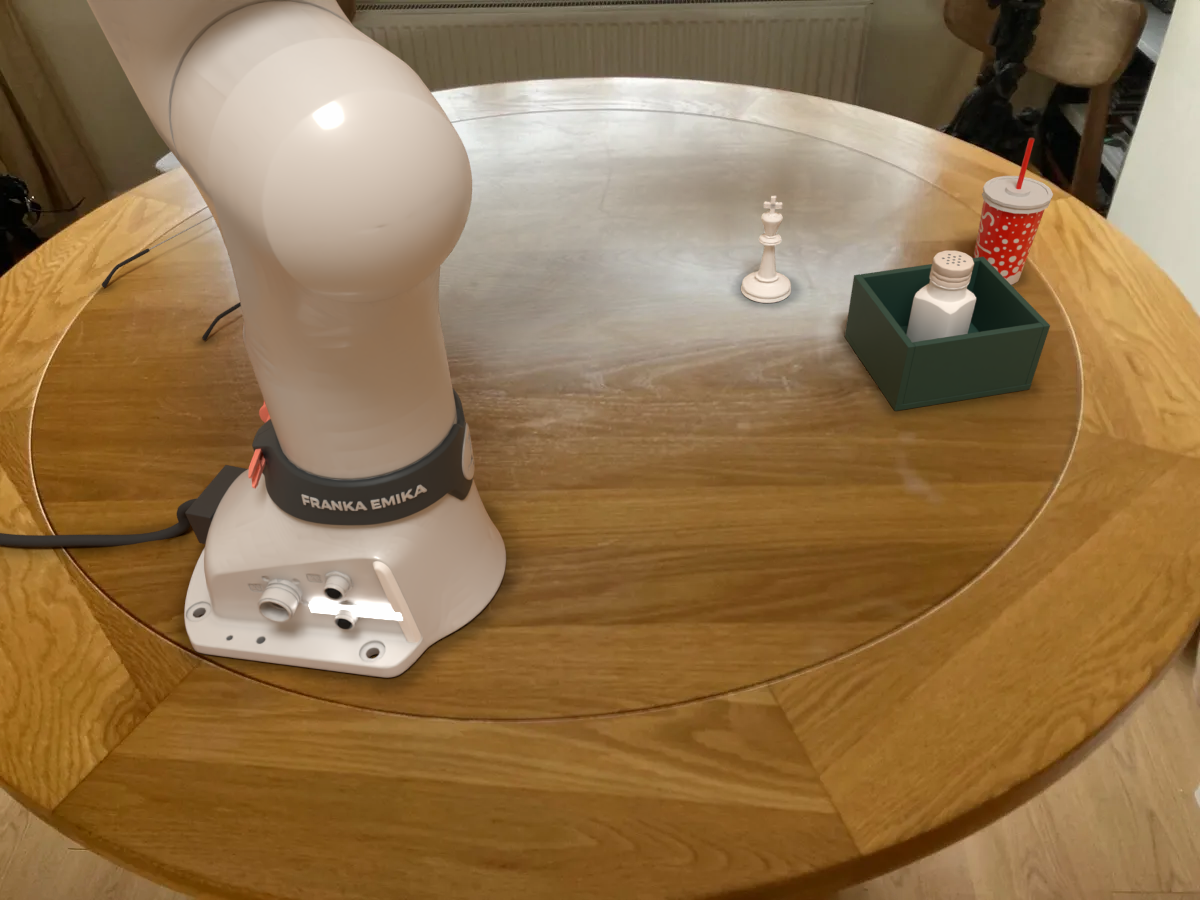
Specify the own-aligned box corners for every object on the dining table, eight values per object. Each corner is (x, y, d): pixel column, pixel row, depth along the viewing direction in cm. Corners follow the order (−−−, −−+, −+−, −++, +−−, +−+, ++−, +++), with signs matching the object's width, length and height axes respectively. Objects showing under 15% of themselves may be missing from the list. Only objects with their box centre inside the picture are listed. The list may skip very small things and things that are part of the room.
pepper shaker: (937, 372, 83) (960, 278, 77) (899, 352, 86) (918, 259, 79) (965, 354, 85) (989, 260, 79) (927, 335, 87) (948, 242, 81)
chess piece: (789, 305, 93) (799, 211, 86) (738, 301, 94) (744, 208, 87) (792, 278, 97) (802, 186, 90) (743, 274, 97) (749, 183, 91)
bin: (894, 411, 80) (908, 347, 76) (844, 336, 89) (853, 274, 84) (1029, 389, 82) (1050, 325, 77) (967, 317, 90) (983, 256, 86)
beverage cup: (965, 254, 99) (997, 121, 89) (1028, 262, 97) (1068, 128, 88) (961, 285, 94) (994, 149, 85) (1027, 294, 93) (1068, 156, 83)
